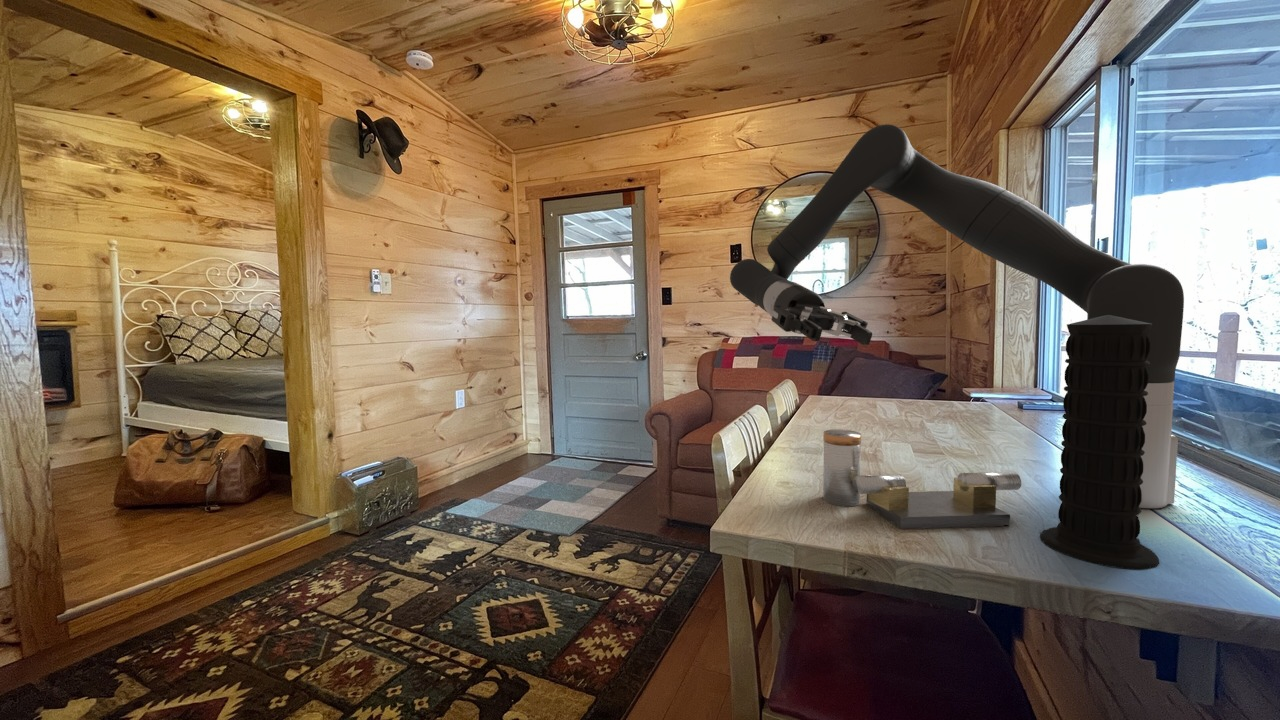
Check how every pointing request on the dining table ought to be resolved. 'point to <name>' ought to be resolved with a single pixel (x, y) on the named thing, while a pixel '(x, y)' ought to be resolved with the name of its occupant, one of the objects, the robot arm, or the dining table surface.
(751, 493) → the dining table surface
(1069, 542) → the handle grip
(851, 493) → the grey cylinder
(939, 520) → the metal mounting fixture
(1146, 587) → the dining table surface
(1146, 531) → the dining table surface
